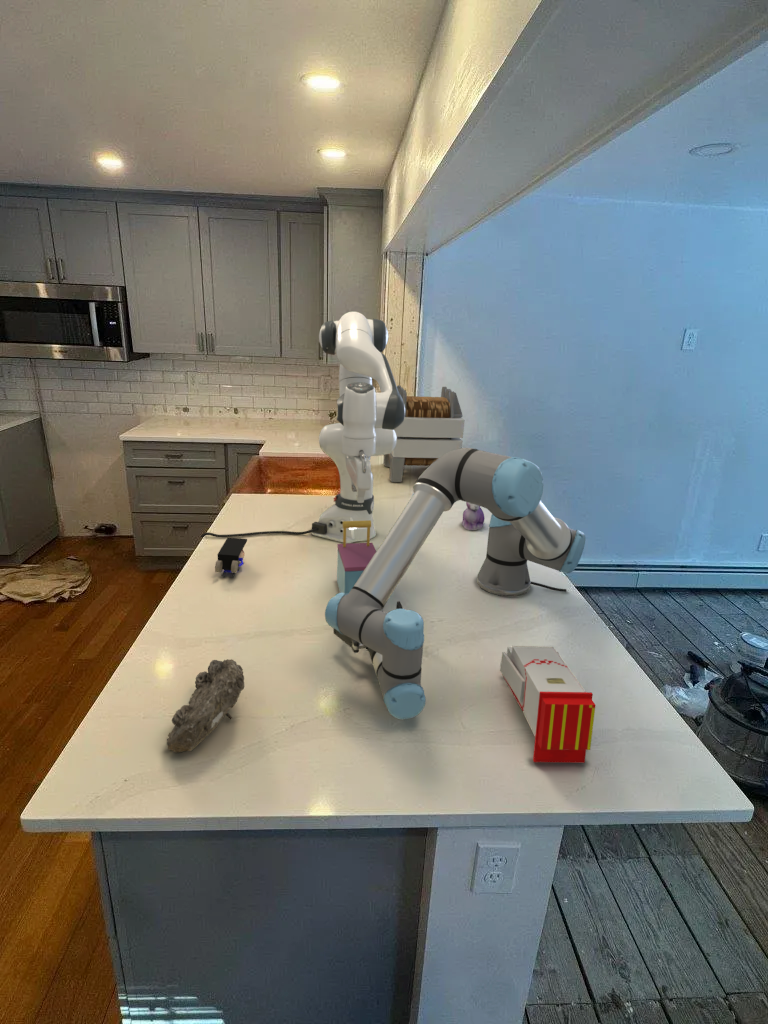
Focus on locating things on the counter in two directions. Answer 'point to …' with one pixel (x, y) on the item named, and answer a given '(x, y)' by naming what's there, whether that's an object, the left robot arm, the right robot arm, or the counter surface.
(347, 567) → the lid
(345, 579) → the chest
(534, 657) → the toy
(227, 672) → the fossil
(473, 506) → the figurine
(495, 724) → the counter surface
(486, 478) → the right robot arm
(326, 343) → the left robot arm
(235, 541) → the figurine character
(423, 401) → the transformer
